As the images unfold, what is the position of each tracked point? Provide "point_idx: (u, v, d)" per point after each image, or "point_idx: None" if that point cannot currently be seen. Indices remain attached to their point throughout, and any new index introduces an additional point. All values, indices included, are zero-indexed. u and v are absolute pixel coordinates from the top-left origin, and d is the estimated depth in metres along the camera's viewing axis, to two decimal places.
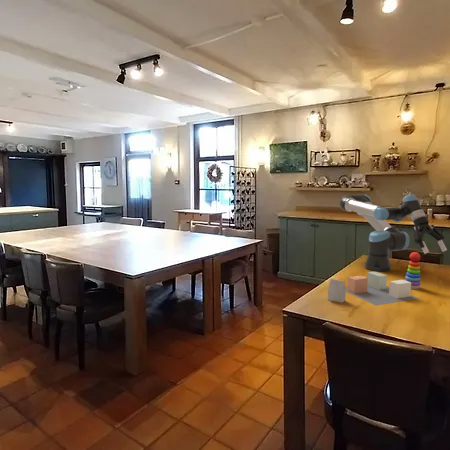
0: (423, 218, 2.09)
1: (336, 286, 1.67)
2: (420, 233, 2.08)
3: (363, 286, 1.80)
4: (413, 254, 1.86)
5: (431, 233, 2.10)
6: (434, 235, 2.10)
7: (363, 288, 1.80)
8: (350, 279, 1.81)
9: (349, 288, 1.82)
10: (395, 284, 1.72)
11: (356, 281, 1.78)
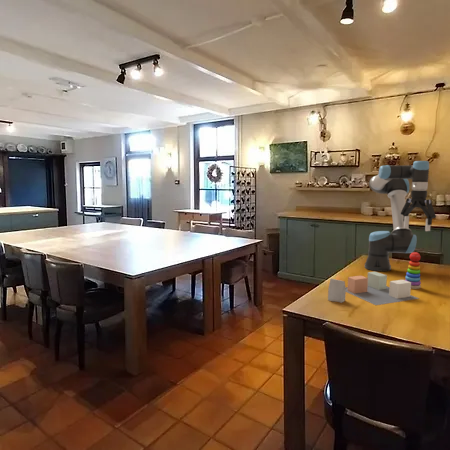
0: (412, 193, 1.95)
1: (336, 286, 1.67)
2: None
3: (363, 286, 1.80)
4: (413, 254, 1.86)
5: None
6: None
7: (363, 288, 1.80)
8: (350, 279, 1.81)
9: (349, 288, 1.82)
10: (395, 284, 1.72)
11: (356, 281, 1.78)
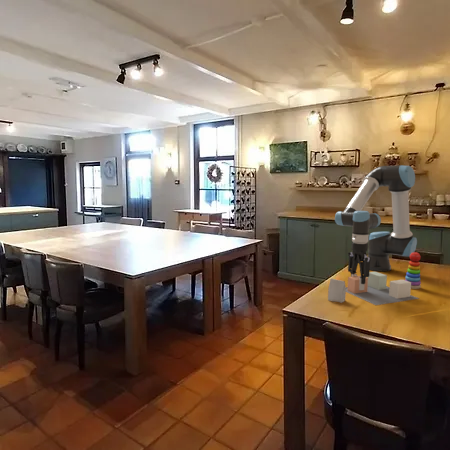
0: (352, 245, 1.79)
1: (336, 286, 1.67)
2: None
3: None
4: (413, 254, 1.86)
5: None
6: None
7: None
8: (350, 279, 1.81)
9: (349, 288, 1.82)
10: (395, 284, 1.72)
11: (356, 281, 1.78)
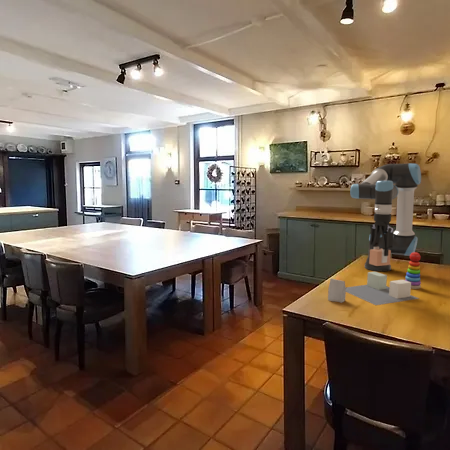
0: (374, 216, 1.73)
1: (336, 286, 1.68)
2: None
3: None
4: (413, 254, 1.86)
5: None
6: None
7: None
8: (372, 251, 1.75)
9: (371, 261, 1.76)
10: (395, 284, 1.72)
11: (379, 253, 1.73)
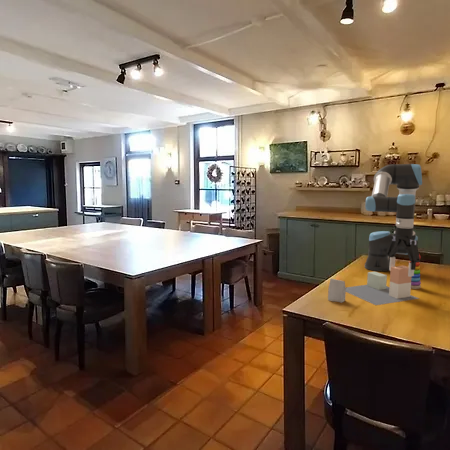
0: (396, 230, 1.71)
1: (336, 286, 1.68)
2: None
3: (407, 276, 1.72)
4: None
5: None
6: None
7: (407, 279, 1.72)
8: (393, 269, 1.73)
9: (392, 278, 1.74)
10: (395, 284, 1.72)
11: (400, 271, 1.70)
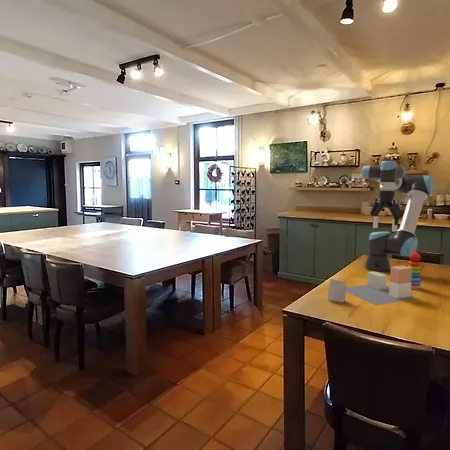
0: (380, 193, 1.95)
1: (336, 286, 1.68)
2: None
3: (407, 276, 1.72)
4: (413, 254, 1.86)
5: None
6: None
7: (407, 279, 1.72)
8: (393, 269, 1.73)
9: (392, 278, 1.74)
10: (395, 284, 1.72)
11: (400, 271, 1.70)
